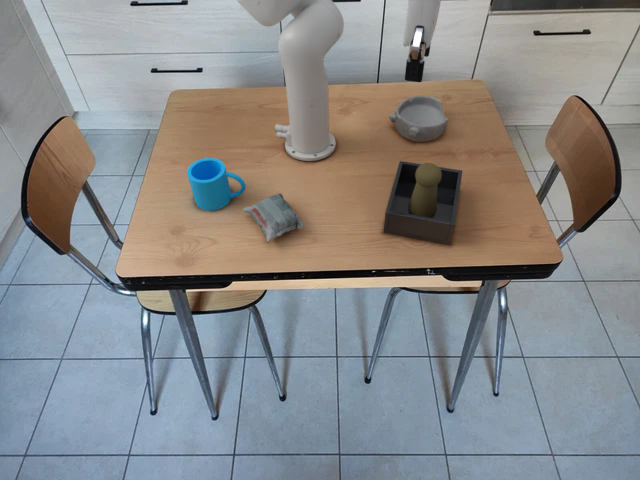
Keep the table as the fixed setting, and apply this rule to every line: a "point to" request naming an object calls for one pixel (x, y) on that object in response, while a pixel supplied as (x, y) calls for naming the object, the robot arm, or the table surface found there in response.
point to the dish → (420, 118)
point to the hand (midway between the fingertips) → (417, 67)
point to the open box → (419, 226)
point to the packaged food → (274, 216)
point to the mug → (212, 183)
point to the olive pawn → (425, 190)
